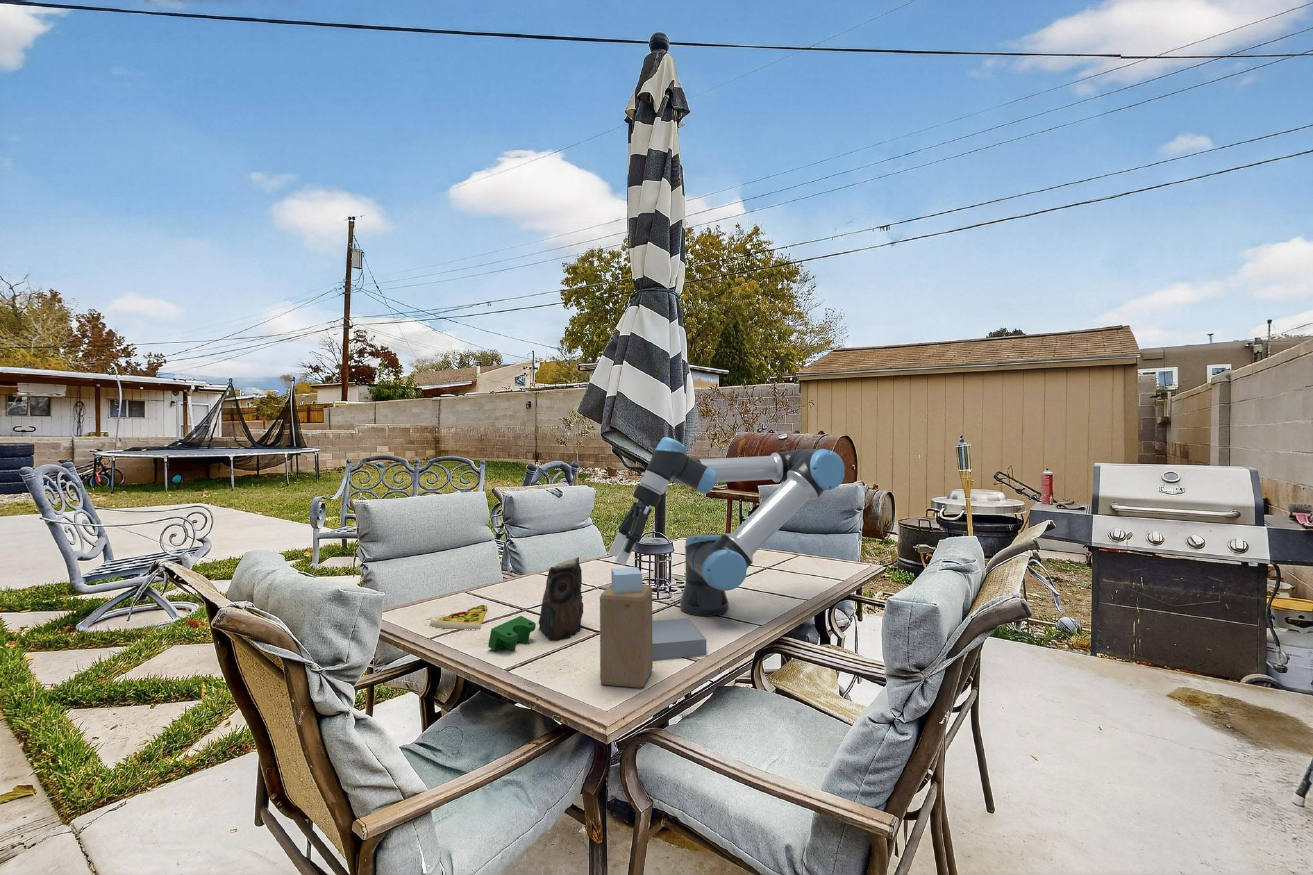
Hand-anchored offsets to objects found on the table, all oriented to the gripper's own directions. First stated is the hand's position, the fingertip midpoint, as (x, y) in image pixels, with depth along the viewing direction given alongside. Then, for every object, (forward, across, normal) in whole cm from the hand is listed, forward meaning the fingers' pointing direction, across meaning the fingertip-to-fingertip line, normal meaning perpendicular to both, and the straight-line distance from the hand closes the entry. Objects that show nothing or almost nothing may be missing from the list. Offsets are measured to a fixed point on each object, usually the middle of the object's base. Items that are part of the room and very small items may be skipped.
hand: (615, 559), depth 148 cm
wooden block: (+20, +26, +9) cm, 34 cm away
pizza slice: (+37, -25, -26) cm, 52 cm away
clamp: (+31, +1, -14) cm, 34 cm away
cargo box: (+2, +27, -1) cm, 28 cm away
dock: (+14, +11, +19) cm, 26 cm away
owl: (+25, -7, -4) cm, 26 cm away
